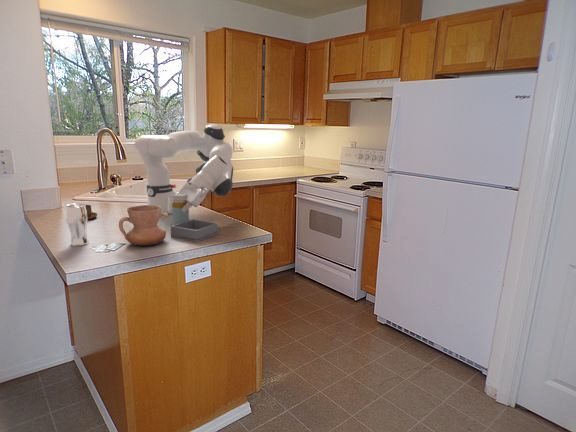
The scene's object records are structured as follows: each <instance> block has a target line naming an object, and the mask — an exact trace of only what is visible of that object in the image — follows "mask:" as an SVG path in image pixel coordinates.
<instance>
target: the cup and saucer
mask: <svg viewBox="0 0 576 432" xmlns="http://www.w3.org/2000/svg"><path fill="white" fill-rule="evenodd" d="M85 206H86V211H87V221H88V220H92V219H95V218H96V217H97V216H98V213H97V212H93V211H92V205H91V204H85Z"/></svg>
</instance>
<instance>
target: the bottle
mask: <svg viewBox="0 0 576 432" xmlns="http://www.w3.org/2000/svg"><path fill="white" fill-rule="evenodd" d="M175 193H176V194H173V195H172V196H173V204H172V213H171V214H172V226H173V225H176V224H179V223H182V222H185V221H189V220H190V208H189V209H187V210H186V211H185V212H182V211H181V208H182V207H184V206H185V205H186V203H187V201H186V197H187V194H185V193H179V192H175Z"/></svg>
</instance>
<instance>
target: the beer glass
mask: <svg viewBox="0 0 576 432" xmlns="http://www.w3.org/2000/svg"><path fill="white" fill-rule="evenodd" d="M85 205H86V203H71V204H67V205H65V217H66V218H65V219H66V222H67V223H66V224H67V226H68V229H69V233H70V235H71V237H70V245H71V246H73V247H74V246H75V247H76V246H77V247H81V246H85V245H88V244H90V241H89V238H88V233H87V232H88V231H87V228H88V220H87V211H86V206H85Z"/></svg>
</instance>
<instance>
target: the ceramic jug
mask: <svg viewBox="0 0 576 432" xmlns="http://www.w3.org/2000/svg"><path fill="white" fill-rule="evenodd" d="M126 211H127V214H128V216H124V217H121V218H120V220H119V221H118V228H119V231H120V232H121V234H122V235H123V236H124V239H125V240H126V241H127V242H128V243H129V244H132V245H134V246H139V247H145V246H146V247H148V246H155V245H158V244H159V243H161V242H163V241H164V240H165V239H166V236H167V235H166V234H167V230H165V229H164V228H162V227H160V226H159V225H158V223H159V220H160V219H161V218H163V217H168V214H169V213H162V214H161V207H160V206H158V205H147V204H141V205H135V206H129V207H127V210H126ZM124 222H129V223H130V224H132V225H133V227H132V228H131V229H130V230H129V231H128V232H126V231H125V229H124V227H123V226H124Z"/></svg>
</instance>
